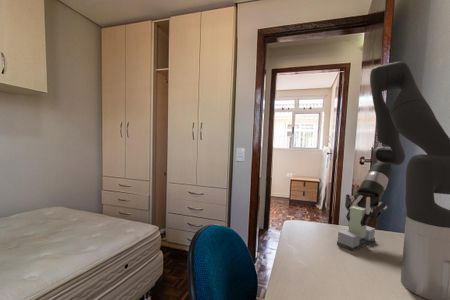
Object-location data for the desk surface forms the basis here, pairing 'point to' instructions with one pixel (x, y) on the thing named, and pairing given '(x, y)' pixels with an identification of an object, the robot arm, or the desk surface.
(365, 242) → the dark gray flat board
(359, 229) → the block
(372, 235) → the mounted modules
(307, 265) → the desk surface
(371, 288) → the desk surface
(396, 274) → the desk surface
